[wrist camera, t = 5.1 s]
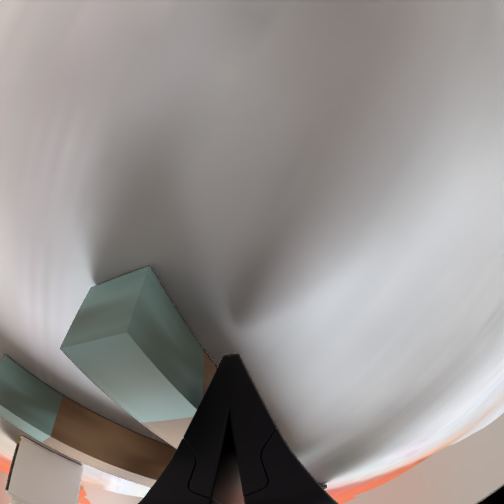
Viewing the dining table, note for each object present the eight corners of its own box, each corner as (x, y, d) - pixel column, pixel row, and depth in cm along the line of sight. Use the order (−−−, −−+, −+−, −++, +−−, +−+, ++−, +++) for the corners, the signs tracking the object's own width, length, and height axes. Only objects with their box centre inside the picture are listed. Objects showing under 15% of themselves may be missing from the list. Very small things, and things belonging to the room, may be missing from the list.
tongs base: (299, 462, 18) (308, 504, 15) (248, 479, 20) (252, 516, 16) (14, 328, 9) (-21, 394, 6) (0, 369, 11) (-23, 420, 7)
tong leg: (283, 451, 16) (289, 486, 14) (250, 458, 17) (254, 492, 14) (149, 265, 8) (126, 332, 6) (91, 287, 9) (59, 348, 6)
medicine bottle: (20, 433, 16) (-1, 533, 6) (84, 465, 19) (74, 562, 8) (16, 444, 18) (-1, 525, 8) (69, 471, 21) (59, 551, 11)
